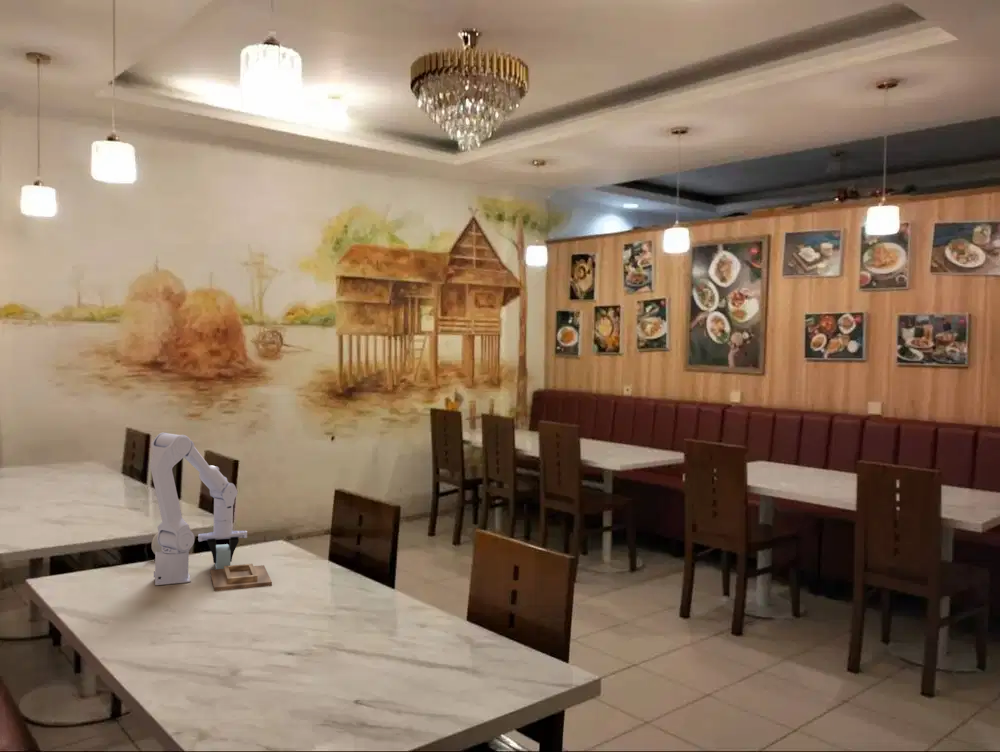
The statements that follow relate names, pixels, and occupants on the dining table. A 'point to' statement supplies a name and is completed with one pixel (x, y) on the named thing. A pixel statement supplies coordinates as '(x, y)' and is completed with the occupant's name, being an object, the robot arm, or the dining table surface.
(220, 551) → the tall light blue prism
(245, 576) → the cradle
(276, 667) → the dining table surface
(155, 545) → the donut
